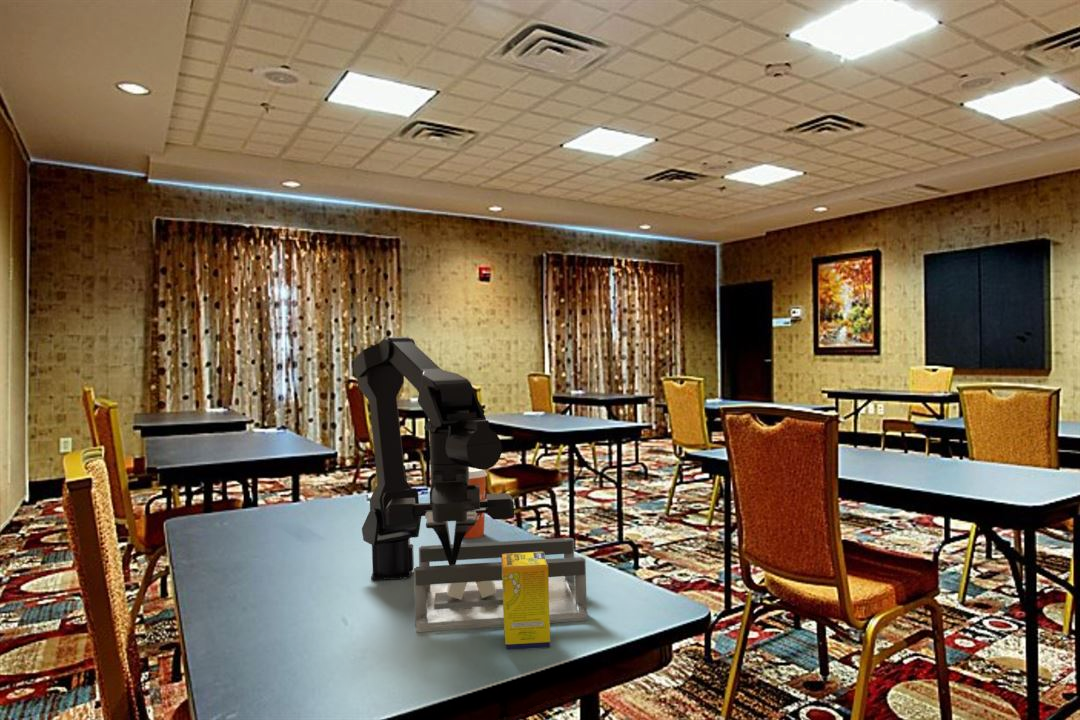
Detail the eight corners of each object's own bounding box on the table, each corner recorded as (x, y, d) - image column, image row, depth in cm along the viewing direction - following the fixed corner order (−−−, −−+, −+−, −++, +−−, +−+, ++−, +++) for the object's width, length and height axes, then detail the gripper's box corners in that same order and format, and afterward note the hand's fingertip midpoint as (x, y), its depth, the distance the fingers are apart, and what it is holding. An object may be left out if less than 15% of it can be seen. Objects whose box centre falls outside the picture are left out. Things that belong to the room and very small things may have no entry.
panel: (416, 632, 97) (416, 619, 97) (423, 593, 112) (422, 582, 112) (587, 620, 99) (587, 607, 99) (570, 583, 115) (570, 572, 115)
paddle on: (447, 595, 103) (453, 576, 103) (447, 588, 107) (453, 569, 107) (461, 599, 103) (467, 580, 104) (461, 592, 107) (467, 573, 107)
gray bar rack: (414, 628, 98) (413, 571, 98) (420, 596, 111) (419, 546, 111) (588, 616, 101) (586, 560, 101) (573, 586, 114) (572, 537, 114)
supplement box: (503, 633, 96) (500, 553, 95) (546, 630, 96) (544, 550, 96) (504, 651, 90) (502, 566, 90) (551, 648, 90) (548, 563, 90)
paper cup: (483, 540, 144) (481, 472, 143) (447, 539, 145) (445, 472, 145) (493, 530, 151) (491, 466, 151) (459, 530, 153) (457, 466, 153)
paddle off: (482, 598, 104) (474, 579, 104) (481, 590, 107) (474, 572, 107) (496, 592, 104) (488, 574, 104) (495, 585, 107) (487, 567, 107)
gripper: (379, 473, 96) (382, 587, 96) (515, 467, 98) (518, 579, 98) (388, 461, 107) (391, 563, 107) (510, 456, 109) (513, 556, 109)
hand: (452, 565), depth 105 cm, fingers closed
